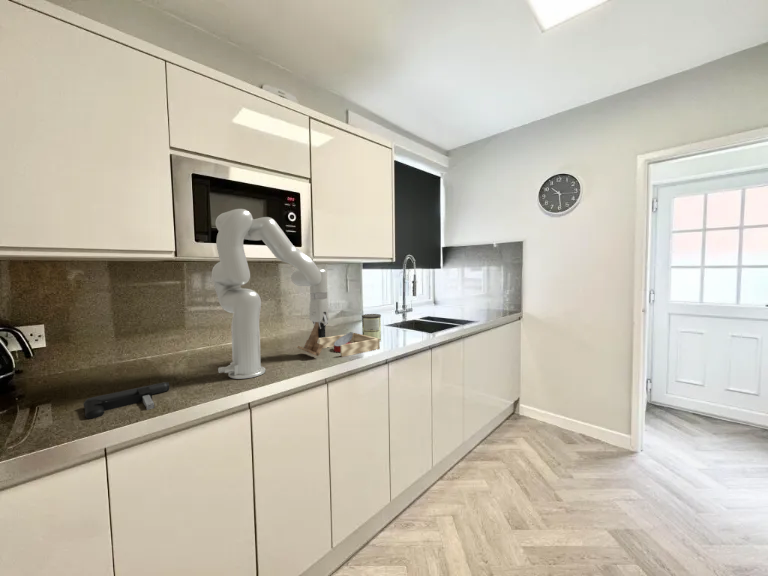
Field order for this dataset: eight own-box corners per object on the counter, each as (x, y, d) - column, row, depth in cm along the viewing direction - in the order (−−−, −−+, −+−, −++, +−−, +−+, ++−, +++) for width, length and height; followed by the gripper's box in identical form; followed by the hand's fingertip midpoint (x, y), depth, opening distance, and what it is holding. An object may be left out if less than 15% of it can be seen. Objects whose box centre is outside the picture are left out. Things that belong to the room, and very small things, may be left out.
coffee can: (358, 340, 175) (358, 314, 174) (374, 338, 181) (374, 313, 180) (368, 343, 166) (368, 316, 166) (385, 341, 172) (384, 315, 171)
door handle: (178, 395, 93) (166, 379, 104) (84, 417, 79) (82, 396, 91) (179, 406, 93) (167, 389, 105) (85, 430, 79) (83, 407, 91)
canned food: (351, 361, 151) (351, 345, 146) (331, 358, 152) (329, 342, 147) (357, 345, 160) (357, 329, 155) (338, 343, 162) (337, 327, 157)
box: (342, 356, 141) (342, 345, 140) (318, 348, 157) (318, 338, 157) (379, 348, 154) (379, 338, 154) (354, 342, 171) (354, 332, 170)
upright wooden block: (309, 352, 136) (322, 322, 139) (297, 347, 145) (310, 319, 149) (318, 356, 138) (331, 326, 142) (306, 351, 148) (318, 323, 151)
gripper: (303, 296, 148) (304, 335, 149) (320, 297, 136) (321, 340, 137) (317, 295, 153) (318, 333, 154) (335, 296, 141) (336, 338, 141)
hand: (319, 336), depth 145 cm, fingers closed on upright wooden block, 3 cm apart
